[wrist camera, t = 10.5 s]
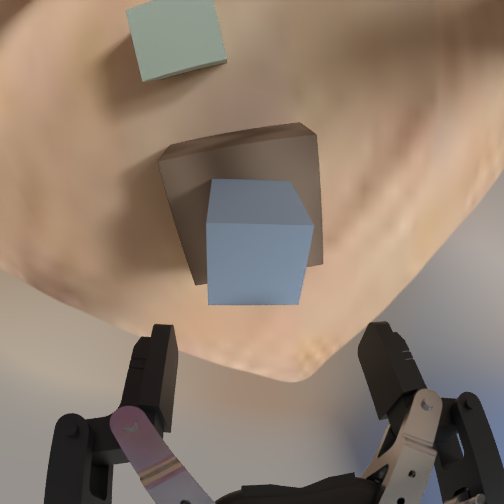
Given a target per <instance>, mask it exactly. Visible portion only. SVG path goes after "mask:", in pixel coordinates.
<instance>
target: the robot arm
mask: <svg viewBox="0 0 504 504" xmlns="http://www.w3.org/2000/svg"><path fill="white" fill-rule="evenodd" d="M358 358H359V361H360V364H361V366H362V369H363V372H364V375H365V378H366V381H367V384H368V387H369V390H370V393H371V396H372V399H373V402H374V405H375V408H376V412H377V415H378V418H379V420H383V419H387V418H388V419H389V422H390V423H389V424H388V426H387V428H386V430H385V433H384V435H383V437H382V440H381V443H380V445H379V447H378V449H377V451H376V454H375V456H374V458H373V460H372V462H371V463H370V465H369V466H368V467H367V468H366V470H365V471H364V473H363V474H362V476H361V478H358V477H355V474H354V472H353V473H348V474H344V475H339V476H333V477H328V478H326V479H323V480H321V481H319V482H316V483H313V484H311V485H308V486H306V487H303V488H296V487H286V486H279V485H272V484H269V485H249V486H242V487H241V490H238V491H235V492H232V493H229V494H227V495H225V496H223V497H221V498H219V499H218V500H216V501H215V502H214V501H213V500H212V499H211V498H210V497H209V496H208V494H207V493H206V492H205V491H204V490H203V489H202V488H201V486H200V485H199V484H198V483H197V482H196V481H195V480H194V478H193V477H192V476H191V474H190V473H189V472H188V471H187V470H186V468H185V467H184V466H183V465H182V463H181V462H180V461H179V460H178V459H177V458H176V457H175V456H174V454H173V453H172V452H171V450H170V449H169V447H168V446H167V445H166V443H165V442H164V441H163V432H169V433H170V432H171V425H172V413H173V403H174V392H175V384H176V375H177V367H178V347H177V342H176V336H175V331H174V326H173V325H163V324H154V326H153V330H152V334H151V337H141V338H140V339H139V341H138V342H137V343H136V344H135V346H134V349H133V353H132V356H131V361H130V365H129V369H128V373H127V378H126V382H125V387H124V391H123V396H122V400H121V404H120V406H119V407H118V409H117V410H116V411H115V412H114V413H112V414H110V415H109V416H106V417H100V418H94V419H86V420H85V419H84V418H83V417H81V416H80V415H78V414H74V413H71V414H66V415H64V416H62V417H61V418H60V419H59V420H58V421H57V423H56V426H55V430H54V435H53V440H52V446H51V451H50V458H49V464H48V471H47V479H46V488H45V497H44V504H111V503H112V480H113V479H112V478H113V464H120V463H127V462H130V463H131V465H132V466H133V467H134V469H135V471H136V472H137V474H138V475H139V477H140V480H141V482H142V484H143V486H144V487H145V489H146V490H147V491H148V493H149V494H150V496H151V497H152V499H153V500H154V501H155V502H156V504H420V501H421V499H422V496H423V494H424V491H425V488H426V486H427V483H428V480H429V477H430V474H431V471H432V468H433V465H434V466H435V470H436V474H437V478H438V482H439V487H440V492H441V496H442V501H443V504H504V468H503V465H502V462H501V458H500V455H499V452H498V449H497V446H496V443H495V440H494V437H493V434H492V431H491V428H490V426H489V423H488V420H487V418H486V415H485V412H484V410H483V407H482V405H481V402H480V401H479V399H478V397H477V396H476V395H475V394H473V393H471V392H464V393H462V394H461V395H460V396H459V397H458V398H457V399H451V398H440V396H439V395H438V394H437V393H436V392H435V391H433V390H431V389H427V387H426V385H425V383H424V381H423V379H422V376H421V374H420V372H419V369H418V367H417V365H416V363H415V361H414V360H413V356H412V355H411V352H409V348H408V346H407V344H406V342H405V340H404V339H403V338H402V337H401V336H400V335H399V334H398V333H397V332H393V331H392V329H391V327H390V325H389V324H388V322H386V321H383V322H371V323H369V324H368V326H367V328H366V331H365V333H364V335H363V337H362V339H361V341H360V344H359V346H358ZM458 433H459V436H460V440H461V443H462V446H463V449H464V457H463V454H462V451H461V447H460V444H459V441H458V438H457V435H456V434H458Z"/></svg>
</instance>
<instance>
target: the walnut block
mask: <svg viewBox="0 0 504 504" xmlns="http://www.w3.org/2000/svg"><path fill="white" fill-rule="evenodd" d="M158 166H159V170H160V173H161V177H162V180H163V184H164V187H165V191H166V194H167V198H168V201H169V205H170V208H171V211H172V215H173V218H174V221H175V225H176V228H177V231H178V234H179V237H180V241H181V244H182V247H183V250H184V253H185V256H186V259H187V262H188V265H189V268H190V271H191V274H192V277H193V280H194V283H195V285H202V284H208V282H207V240H206V221H207V213H208V206H209V198H210V191H211V184H212V179H244V180H270V181H290V182H291V183H292V185H293V187H294V189H295V190H296V192H297V194H298V196H299V198H300V200H301V202H302V203H303V205H304V207H305V209H306V211H307V213H308V215H309V217H310V219H311V220H312V222H313V224H314V229H313V235H312V240H311V245H310V251H309V256H308V261H307V266H306V267H310V266H316V265H321V264H323V233H322V207H321V188H320V172H319V158H318V145H317V134H315V133H314V132H313V131H311V130H310V129H308V128H307V127H306V126H304V125H303V124H301V123H291V124H283V125H275V126H268V127H261V128H254V129H248V130H241V131H236V132H230V133H224V134H219V135H214V136H209V137H204V138H199V139H194V140H190V141H185V142H181V143H176V144H172V145H170V146H169V147H168V149H167V150H166V151H165V153H164V154H163V155H162V157H161V158H160V159H159V161H158Z"/></svg>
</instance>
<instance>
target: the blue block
mask: <svg viewBox="0 0 504 504" xmlns="http://www.w3.org/2000/svg"><path fill="white" fill-rule="evenodd" d="M313 229H314V224H313V222H312V220H311V219H310V217H309V215H308V213H307V211H306V209H305V207H304V205H303V203H302V202H301V200H300V198H299V196H298V194H297V192H296V190H295V189H294V187H293V185H292V183H291V182H290V181H270V180H244V179H212V184H211V191H210V198H209V206H208V213H207V221H206V240H207V282H208V305H298V304H299V299H300V295H301V290H302V285H303V280H304V276H305V271H306V266H307V261H308V256H309V251H310V245H311V240H312V235H313Z"/></svg>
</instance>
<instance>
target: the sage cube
mask: <svg viewBox="0 0 504 504" xmlns="http://www.w3.org/2000/svg"><path fill="white" fill-rule="evenodd" d="M126 13H127V18H128V23H129V27H130V32H131V36H132V41H133V45H134V49H135V53H136V58H137V62H138V66H139V70H140V74H141V78H142V82H145V81H153V80H161V79H164V78H168V77H171V76H175V75H178V74H182V73H185V72H189V71H193V70H197V69H201V68H205V67H209V66H214V65H218V64H223V63H227V57H226V53H225V48H224V44H223V39H222V35H221V30H220V26H219V22H218V17H217V13H216V9H215V4H214V0H154V1H151V2H148V3H145V4H142V5H139V6H136V7H134V8H131V9H128V10H126Z"/></svg>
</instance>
